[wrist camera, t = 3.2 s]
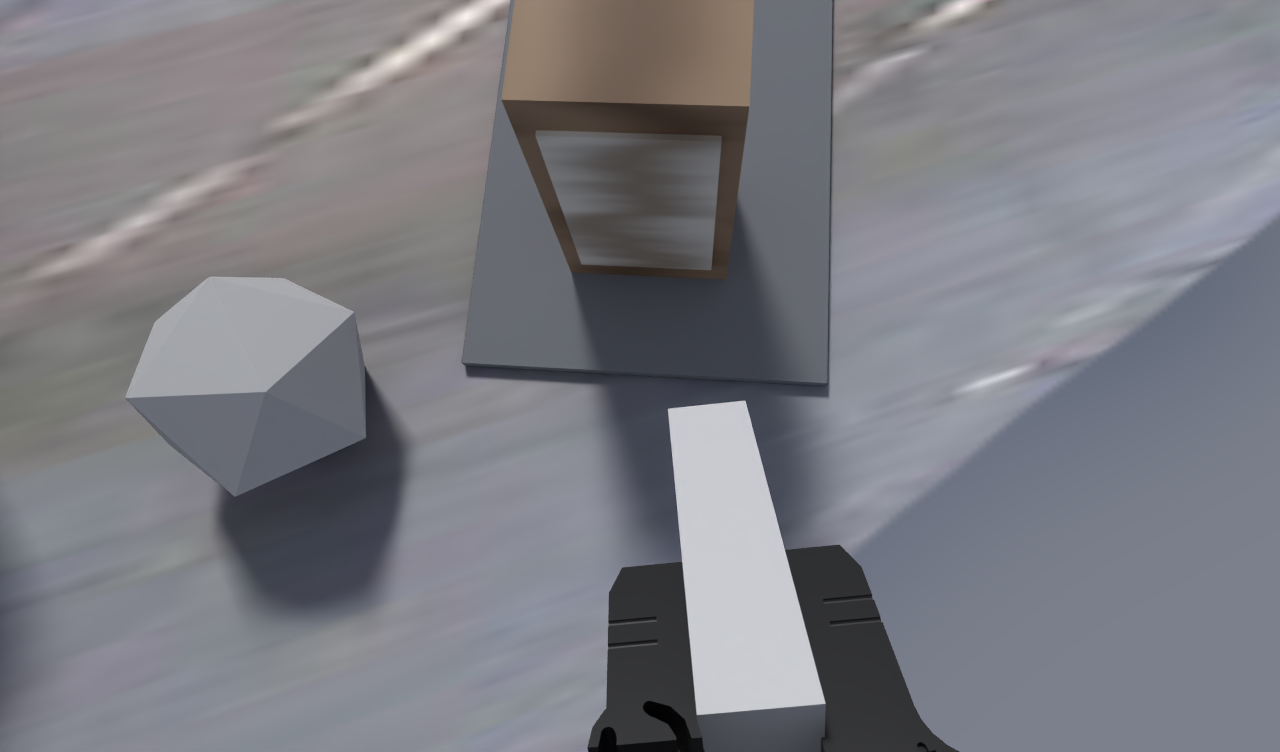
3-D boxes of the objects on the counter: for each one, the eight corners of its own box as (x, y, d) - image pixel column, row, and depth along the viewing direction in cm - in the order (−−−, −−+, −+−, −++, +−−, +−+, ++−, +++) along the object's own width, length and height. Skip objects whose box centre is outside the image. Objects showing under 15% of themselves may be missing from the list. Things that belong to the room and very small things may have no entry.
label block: (570, 276, 34) (500, 106, 21) (581, 173, 35) (520, -47, 22) (726, 283, 33) (749, 112, 20) (731, 178, 34) (756, -45, 22)
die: (302, 280, 36) (61, 285, 28) (418, 270, 31) (167, 273, 23) (319, 446, 37) (91, 497, 29) (434, 463, 32) (198, 529, 24)
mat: (464, 365, 33) (461, 362, 33) (523, -74, 39) (521, -82, 39) (825, 385, 32) (827, 383, 32) (831, -71, 38) (833, -79, 37)
